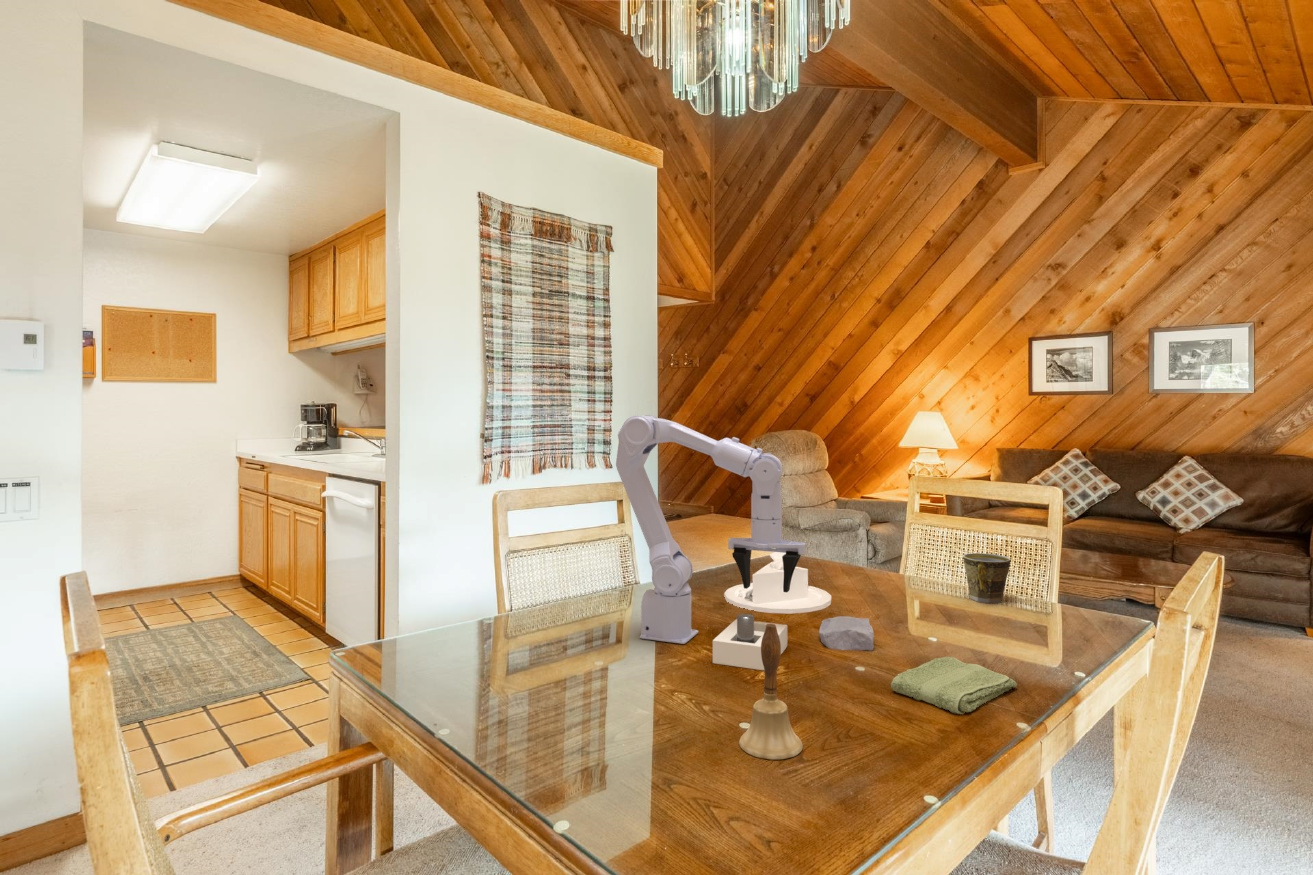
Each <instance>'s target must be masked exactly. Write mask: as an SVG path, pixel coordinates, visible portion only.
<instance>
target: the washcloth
mask: <svg viewBox="0 0 1313 875" xmlns="http://www.w3.org/2000/svg"><path fill="white" fill-rule="evenodd" d="M1017 686H1018V684H1017V682H1016V681H1015V680H1014V679H1013V678H1010V677H1009V676H1008V675H1005V674H1002V673H999V672H997V671H993V670H991V669H988V668H986V667H985V666H982V665H980V664H976V663H965V662H963V661H961V660H959V659H957V658H956V657H952V656H944V657H938V658H933V659H931V660H930V661H927V662H925V663H922V664H920V665H919V666H917V667H914V668H910V669H906V671H903V672H900V673H898V674H897V675H896V676H895V677H894V678H892V680H891V683H890V687H891V689H892V691H894V692H895V693H897V694H900V695H904V696H907V697H910V698H912V697H913V698H912V699H914V700H916V701H923V702H926V703H928V704H932V705H934V706H935V707H936V706H937V708H939V709H943V710H944V709H945V711H948V710H949V711H950V712H951V713H952V714H955V715H956V714H957V715H964V714H965V713H964V712H966V713H971V712H973V711H975V710H976V708H977V707H979V706H980V707H981V706H983V705H982V704H984V703H985V702H987V701H989V702H990V701H991V700H993V699H996V697H997V698H998V697H999V696H1001V695H1003V694H1005V693H1006V692H1008V691H1011V689H1012V688H1016V687H1017ZM987 703H988V702H987ZM985 704H986V703H985ZM985 704H984V705H985ZM980 707H979V708H980ZM977 709H978V708H977ZM949 711H948V712H949Z"/></svg>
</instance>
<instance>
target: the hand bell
mask: <svg viewBox="0 0 1313 875" xmlns="http://www.w3.org/2000/svg"><path fill="white" fill-rule="evenodd" d="M775 624H776V623H774V624H767V625H766V629H765V632H764V635H763V638H762V642H761V657H762V662H763V666H764V670H765V671H764V670H763V671H764V682H763V686H764V687H763V697H762V698H760V699H758V700H756V701H755V702H754V704H753V707H752V716H751V721H750V724H749V726H748V728H747V730H746V731H745V732H743V734H742V735H741V736H740V738H739V740H738V741H739V742H738V743H739V744H738V745H739V747H740V749H742V751H743V752H745V753H746V754H748V755H750V756H752V757H756V758H759V759H767V760H772V761H773V760H785V759H789V758H794V757H796V756H797V755H799V754H800V753H801V752H802V751H803V749H804V748H803V747H804V746H803V745H804V744H803V742H802V740H801V738H800V737H799V736H798V735H797V734H796V733H795V731H794V729H793V728H792V725H791V722H790V721H791V720H790V715H789V710H788V706H787V704H786V702H784V701H782V700H780V699H778V694H777V692H778V688H777V687H778V683H777V681H778V679H777V674H778V673H777V672H778V667H779V664H780V661H781V655H782V654H781V644H780V639H779V635H778V633H777V629H776V625H775Z"/></svg>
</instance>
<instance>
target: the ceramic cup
mask: <svg viewBox="0 0 1313 875" xmlns="http://www.w3.org/2000/svg"><path fill="white" fill-rule="evenodd" d="M962 557H963V564H964V571H965V574H966V579H967V580H966V581H967V586H968V592H969V597H970V599H971V600H972V601H975V602H977V603H982V604H983V603H984V604H1000V603H1001V602H1002V601H1003V597H1004V594H1005V588H1006V583H1007V577H1008V575H1009V571H1010V566H1011V558H1010V557H1008V556H1004V555H999V554H995V553H994V554H993V553H982V552H981V553H978V552H975V553H972V552H971V553H966V554H964V555H963V556H962Z"/></svg>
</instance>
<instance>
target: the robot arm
mask: <svg viewBox="0 0 1313 875" xmlns="http://www.w3.org/2000/svg"><path fill="white" fill-rule="evenodd" d="M617 440H618V446H617V453H616V458H615V459H616V461H615V466H616V471H617V472H618V475H619V478H620V480H621V483H622V484H623V487H624V490H625V492H626V495H627V497H628V500H629V503H630V505H631V507H632V510H633V512H634V515H635V517H636V519H637V522H638V525H639V527H640V529H641V532H642V535H643V537H644V540H645V542H646V545H647V547H648V550H649V553H648V554H649V556H648V557H649V559H648V560H649V564H650V567H651V574H652V575H651V581H652V585H653V586H654V589H653V588H651V589H647V590H646V591H645V592H644V593H643V596H642V598H641V606H640V608H641V609H640V610H641V611H640V613H641V615H640V617H641V620H640V621H641V622H640V624H641V625H640V626H641V631H640V632H641V634H640V635H639V638H640V639H643V640H652V641H659V642H664V643H665V642H667V643H674V644H681V645H684V644H687V643H688V642H689V641H690V640H691V639H693V637H695V636H696V635H697V634H698V633H699V630H697V629H693V628H692V588H691V586H690V585H689V582H688V581H689V580H690V579H691V578H692V575H693V572H694V568H693V563H692V561H691V560H690V558H688V557H687V556H686V554H684V552H683V551H682V549H681V547H680V545H679V544H678V542H677V541H676V540H675V539H674V537H673V535H672V532H671V530H670V527H669V525H668V523H667V520H666V519H665V515H664V513H663V511H662V508H661V506H660V503H659V500H658V498H657V496H656V494H655V491H654V489H653V486H652V484H651V481H650V479H649V476H648V474H647V472H646V468H645V464H646V462H647V459H648V457H649V455H650V454H651V451H652V450H653V449H655V447H656V446H657V445H658V444H662V443H663V444H664V443H676V444H678V445H681V446H684V447H687V448H689V449H692V450H694V451H696V452H700V453H703V454H705V455H708V456H710V457H711V458H712V461H713V462H714V463H713V464H714V465H715V466H717V467H720V468H721V469H724V470H726V471H729V472H731V473H734V474H737V475H739V476H741V477H743V478H747V477H750V480H751V482H752V483H751V484H752V492H751V497H750V498H751V499H750V500H751V507H750V508H751V510H750V511H751V513H750V514H751V518H750V520H751V522H750V523H751V525H750V526H751V527H750V528H751V536H750V537H731V538H728V543H727V544H728V545H727V546H728V547H727V548H728V550H733V552H732V554H731V555H732V558H733V560H734V561H735V562H734V563H735V564H736V565H737V568H738V570H739V573H740V577H741V580H742V584H743V586H744V588H746V589H747V588H749V587H750V583H751V558H752V551H758V552H772V553H773V552H783V553H786V554H784V555H783V556H782V559H783V569H784V581H783V592H788V591H789V590H790V583H791V579H792V575H793V572H794V570H795V567H797V565H798V562H799V560H800V558H801V556H803V555H805V554H806V553H807V545H806V544H807V542H801V541H800V542H799V541H794V540H793V541H792V540H784V539H783V538H782V537H783V533H782V532H783V522H782V521H783V493H782V492H781V491H782V483H781V477H782V474H783V471H784V470H783V469H784V468H783V464H782V462H781V460H780V459H779V458H778V457H777V456H776V455H774V454H773V453H770V452H764V453H763V450H764V449H762V448H761V447H757V448H754V447H751V446H749V445H746V444H745V443H741V442H740V438H738V437H735V436H733V437H732V438H729V437H724V438H722V439H720V440H716V439H714V438H711V437H709V436H707V435H705V434H703V433H700V432H698V431H696V430H694V429H693V428H689V427H687V426H685V425H682V424H681V423H678V422H676V421H672V420H668V419H665V418H658V416H657V417H656V416H655V415H651V414H647V415H641V414H637V415H631V416H629V417H628V418H627V419H626V420H625V421H624V423H623V424H622V426H621V428H620V429H619V431H618V433H617Z"/></svg>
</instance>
